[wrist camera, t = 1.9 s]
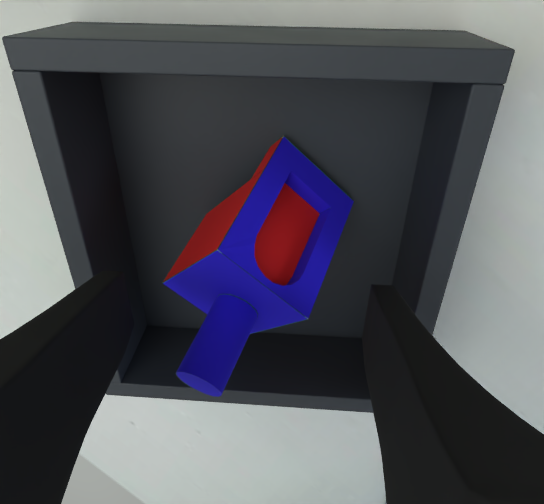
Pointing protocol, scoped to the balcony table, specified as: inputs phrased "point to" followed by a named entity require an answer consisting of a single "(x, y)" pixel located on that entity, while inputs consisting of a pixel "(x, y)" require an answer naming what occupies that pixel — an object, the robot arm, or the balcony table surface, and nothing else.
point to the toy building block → (257, 260)
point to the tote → (242, 165)
